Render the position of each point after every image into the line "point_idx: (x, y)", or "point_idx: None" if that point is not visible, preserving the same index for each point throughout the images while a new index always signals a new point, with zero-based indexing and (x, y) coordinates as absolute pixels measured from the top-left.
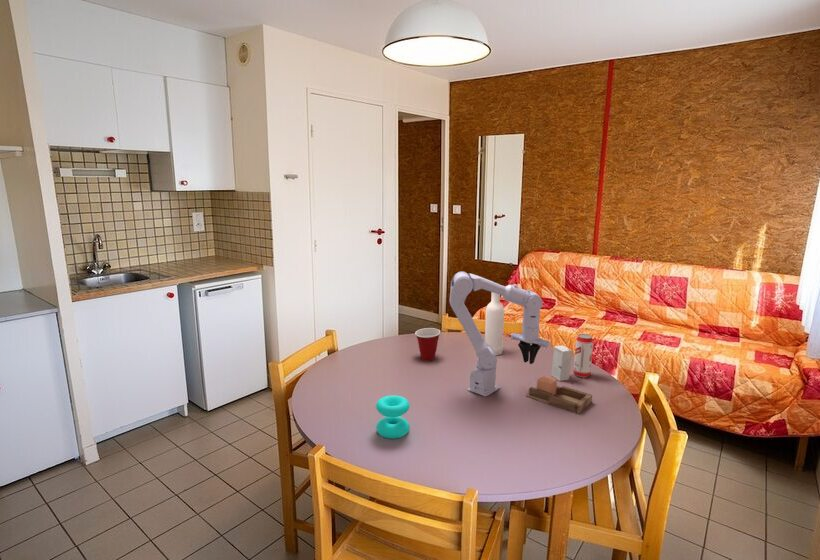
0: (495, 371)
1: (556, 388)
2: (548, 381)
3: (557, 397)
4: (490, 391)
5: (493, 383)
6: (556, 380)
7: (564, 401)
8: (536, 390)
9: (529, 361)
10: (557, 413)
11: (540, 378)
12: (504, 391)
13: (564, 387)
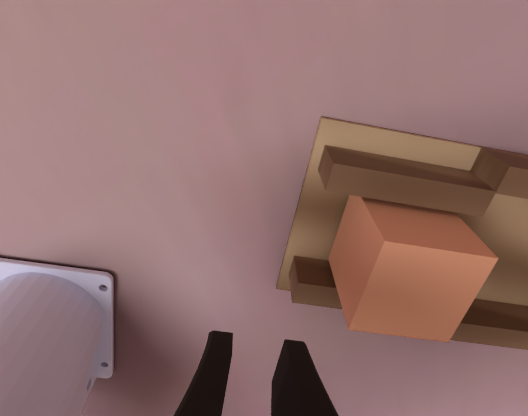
0: (51, 414)
1: (459, 217)
2: (430, 319)
3: (467, 328)
4: (101, 340)
5: (89, 360)
6: (489, 263)
7: (503, 345)
8: (340, 308)
9: (272, 412)
10: (449, 354)
11: (366, 302)
12: (153, 287)
13: (519, 185)
